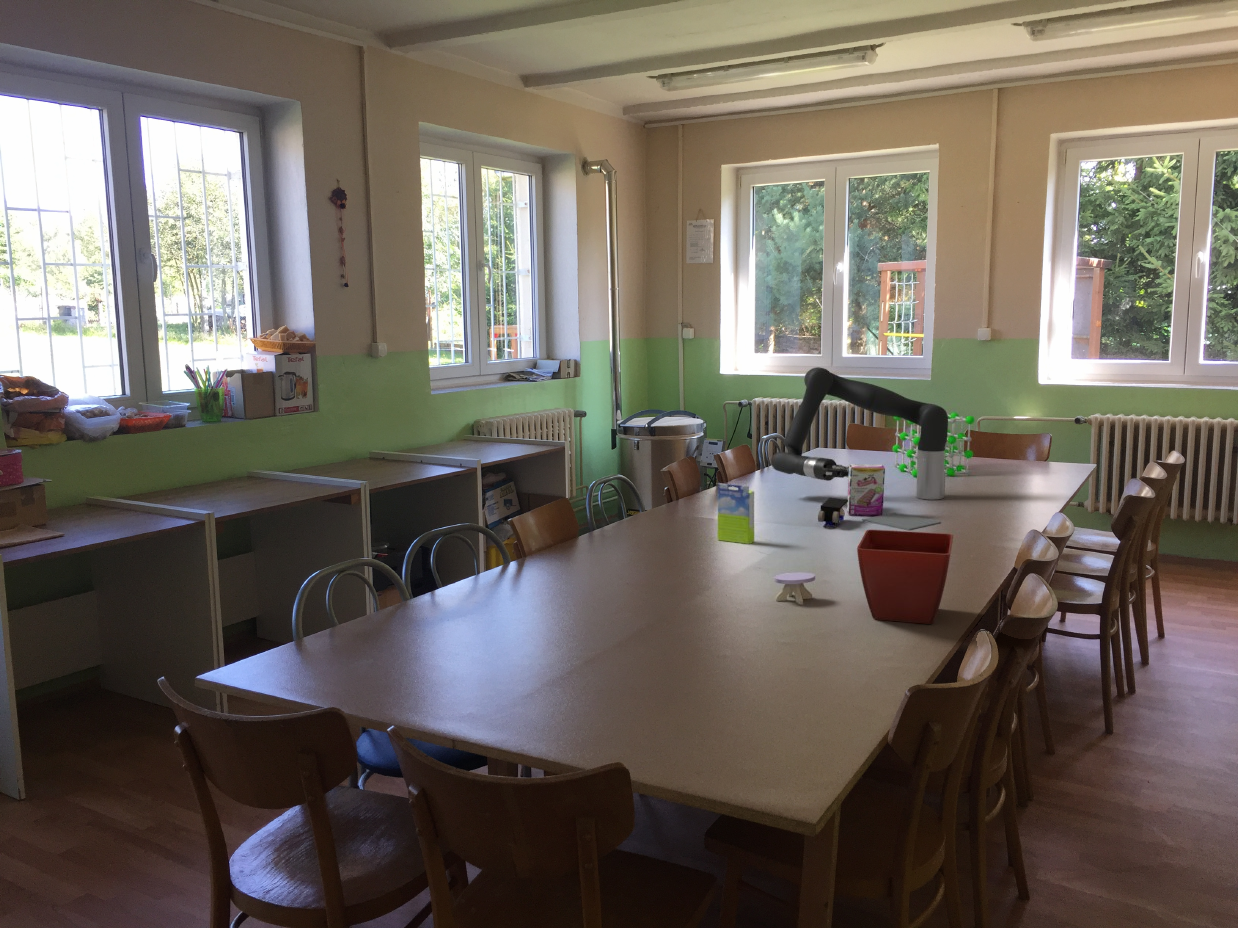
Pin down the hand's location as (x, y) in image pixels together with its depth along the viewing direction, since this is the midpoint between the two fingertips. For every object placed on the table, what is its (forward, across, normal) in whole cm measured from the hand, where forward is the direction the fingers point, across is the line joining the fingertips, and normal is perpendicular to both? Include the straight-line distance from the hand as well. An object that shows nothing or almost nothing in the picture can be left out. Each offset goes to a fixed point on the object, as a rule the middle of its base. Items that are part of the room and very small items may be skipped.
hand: (859, 474), depth 321 cm
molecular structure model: (-35, +86, +13) cm, 94 cm away
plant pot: (+77, -76, +13) cm, 110 cm away
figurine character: (+6, -19, +13) cm, 24 cm away
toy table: (+54, -87, +13) cm, 103 cm away
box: (+3, -58, +13) cm, 60 cm away
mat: (+17, 0, +13) cm, 22 cm away
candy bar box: (+3, 0, +13) cm, 13 cm away
